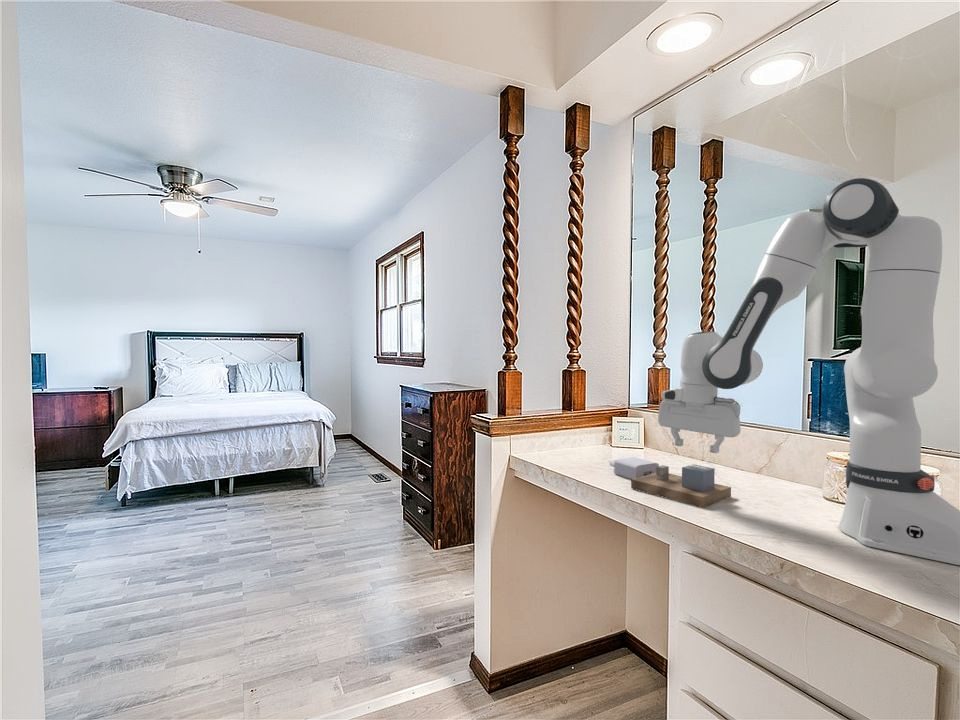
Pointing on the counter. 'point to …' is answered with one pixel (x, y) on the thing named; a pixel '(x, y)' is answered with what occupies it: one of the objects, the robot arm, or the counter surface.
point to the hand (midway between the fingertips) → (696, 449)
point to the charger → (633, 467)
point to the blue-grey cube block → (698, 477)
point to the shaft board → (678, 488)
